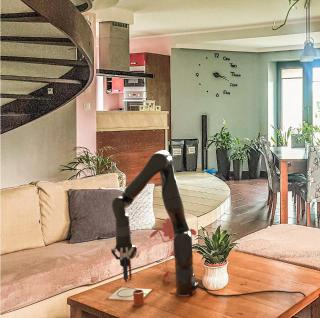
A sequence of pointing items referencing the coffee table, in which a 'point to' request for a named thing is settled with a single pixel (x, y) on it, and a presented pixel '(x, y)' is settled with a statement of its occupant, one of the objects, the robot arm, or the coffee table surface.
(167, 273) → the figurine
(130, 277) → the magnifying glass
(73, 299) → the coffee table surface
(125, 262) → the marker
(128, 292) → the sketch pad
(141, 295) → the pen cup
